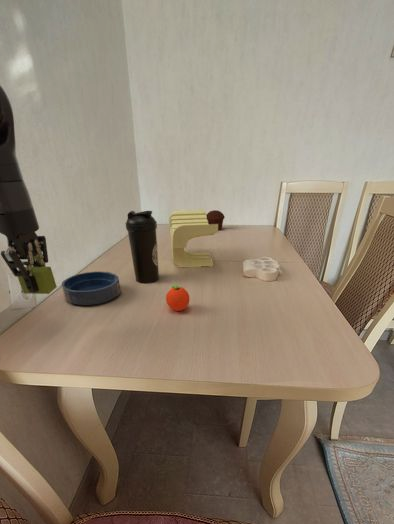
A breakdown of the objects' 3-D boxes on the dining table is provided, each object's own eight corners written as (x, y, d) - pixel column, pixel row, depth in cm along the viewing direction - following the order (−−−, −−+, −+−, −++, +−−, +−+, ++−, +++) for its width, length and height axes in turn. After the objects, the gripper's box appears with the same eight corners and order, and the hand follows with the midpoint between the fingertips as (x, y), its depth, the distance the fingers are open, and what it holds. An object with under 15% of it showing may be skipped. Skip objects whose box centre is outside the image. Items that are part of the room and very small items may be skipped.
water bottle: (159, 284, 105) (153, 214, 92) (131, 284, 105) (120, 214, 92) (162, 274, 113) (157, 208, 100) (136, 274, 113) (127, 209, 101)
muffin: (210, 232, 169) (211, 213, 163) (201, 228, 177) (201, 210, 171) (228, 229, 174) (228, 211, 168) (218, 226, 182) (218, 208, 176)
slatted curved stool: (171, 253, 136) (168, 211, 126) (205, 251, 138) (205, 209, 128) (175, 275, 112) (172, 225, 102) (216, 273, 113) (218, 224, 103)
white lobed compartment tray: (242, 264, 121) (278, 265, 120) (243, 280, 107) (284, 281, 105) (242, 256, 120) (279, 257, 118) (244, 271, 105) (286, 272, 103)
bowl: (56, 306, 91) (51, 291, 88) (78, 284, 105) (74, 271, 103) (112, 307, 90) (109, 292, 87) (126, 285, 104) (124, 271, 102)
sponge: (23, 293, 68) (15, 272, 65) (32, 286, 71) (25, 266, 68) (49, 293, 67) (42, 272, 64) (56, 287, 71) (50, 266, 68)
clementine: (162, 305, 90) (160, 283, 86) (183, 301, 93) (182, 279, 89) (171, 316, 84) (169, 293, 80) (193, 312, 87) (193, 289, 83)
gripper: (14, 201, 65) (38, 276, 75) (-31, 213, 53) (5, 300, 63) (47, 201, 65) (67, 276, 74) (9, 213, 53) (39, 300, 63)
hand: (39, 287), depth 69 cm, fingers closed on sponge, 4 cm apart
